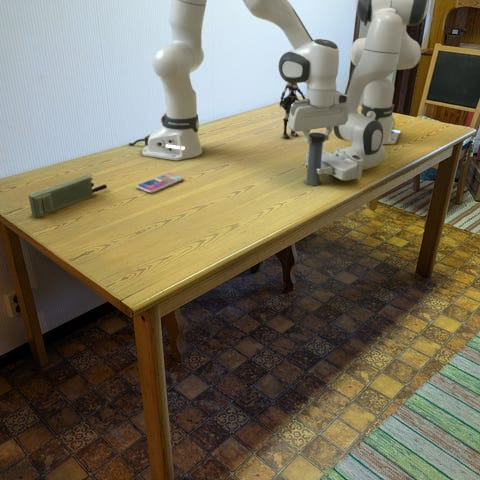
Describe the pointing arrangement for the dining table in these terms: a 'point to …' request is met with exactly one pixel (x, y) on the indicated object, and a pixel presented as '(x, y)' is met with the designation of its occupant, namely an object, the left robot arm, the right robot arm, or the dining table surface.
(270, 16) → the left robot arm
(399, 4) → the right robot arm
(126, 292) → the dining table surface
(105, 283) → the dining table surface
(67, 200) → the handheld radio
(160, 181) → the smartphone
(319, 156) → the jar
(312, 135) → the lid
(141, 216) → the dining table surface
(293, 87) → the figurine
